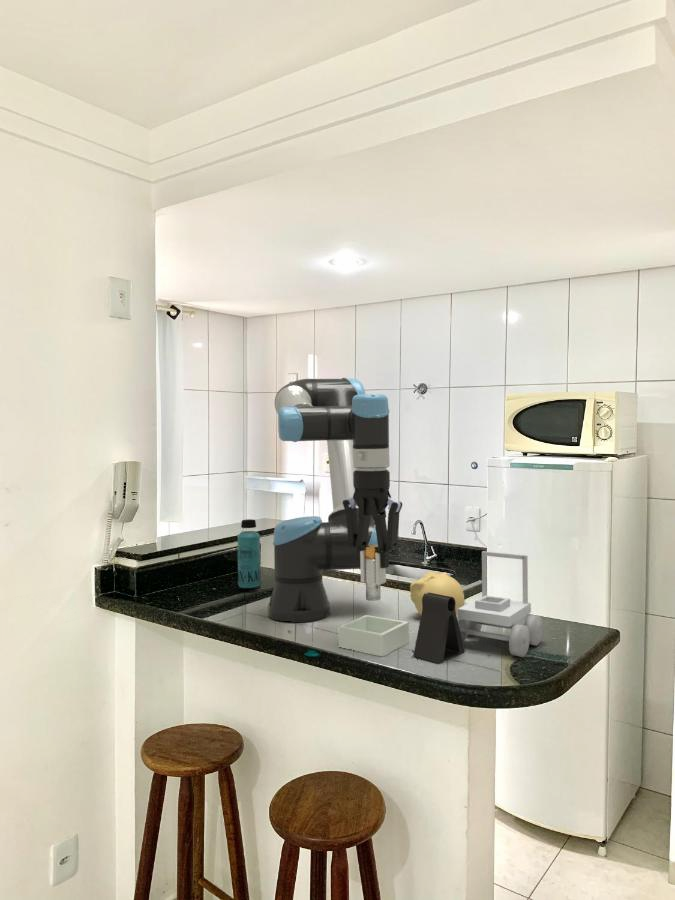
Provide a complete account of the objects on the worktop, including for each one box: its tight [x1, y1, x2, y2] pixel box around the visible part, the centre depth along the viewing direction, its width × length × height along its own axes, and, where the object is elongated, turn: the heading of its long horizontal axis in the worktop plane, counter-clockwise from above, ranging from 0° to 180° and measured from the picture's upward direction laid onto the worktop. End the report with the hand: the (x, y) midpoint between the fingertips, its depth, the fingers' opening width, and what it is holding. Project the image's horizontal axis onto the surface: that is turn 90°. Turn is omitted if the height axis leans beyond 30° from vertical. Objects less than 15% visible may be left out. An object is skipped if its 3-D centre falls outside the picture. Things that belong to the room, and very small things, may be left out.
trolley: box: [456, 551, 544, 658], centre depth 143 cm, size 15×14×18 cm
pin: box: [365, 545, 382, 602], centre depth 144 cm, size 3×3×11 cm
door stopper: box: [412, 592, 466, 665], centre depth 138 cm, size 9×6×12 cm, turn 135°
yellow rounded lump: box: [409, 571, 465, 616], centre depth 164 cm, size 11×12×11 cm
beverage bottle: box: [236, 518, 262, 589], centre depth 194 cm, size 6×7×20 cm
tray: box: [338, 614, 410, 658], centre depth 145 cm, size 11×11×4 cm
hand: (373, 582), depth 144 cm, fingers closed on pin, 3 cm apart
